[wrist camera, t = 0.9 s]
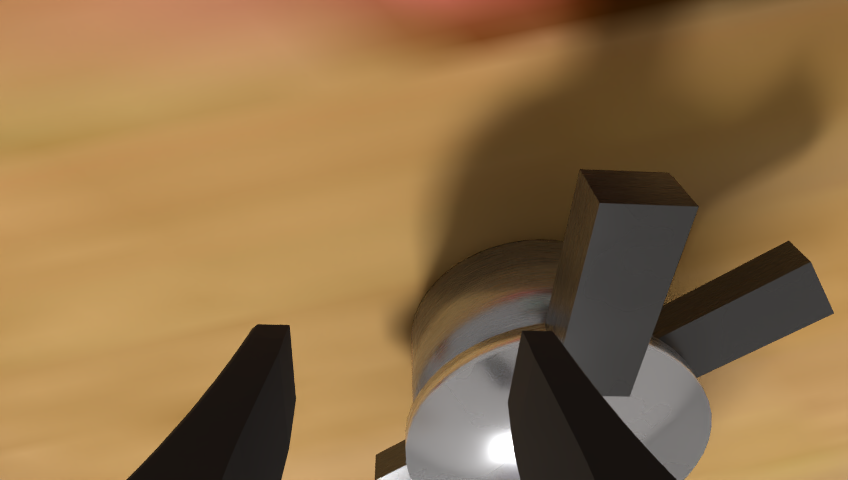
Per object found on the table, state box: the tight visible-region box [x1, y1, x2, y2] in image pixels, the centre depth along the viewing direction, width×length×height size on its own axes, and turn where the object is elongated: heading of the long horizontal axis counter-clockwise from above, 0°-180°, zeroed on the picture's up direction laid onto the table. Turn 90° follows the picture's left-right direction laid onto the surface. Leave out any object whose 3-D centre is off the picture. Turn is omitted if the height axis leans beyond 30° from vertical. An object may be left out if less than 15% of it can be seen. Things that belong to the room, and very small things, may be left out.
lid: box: [405, 169, 711, 480], centre depth 19 cm, size 16×11×2 cm
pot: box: [375, 240, 834, 480], centre depth 23 cm, size 17×10×5 cm, turn 127°
